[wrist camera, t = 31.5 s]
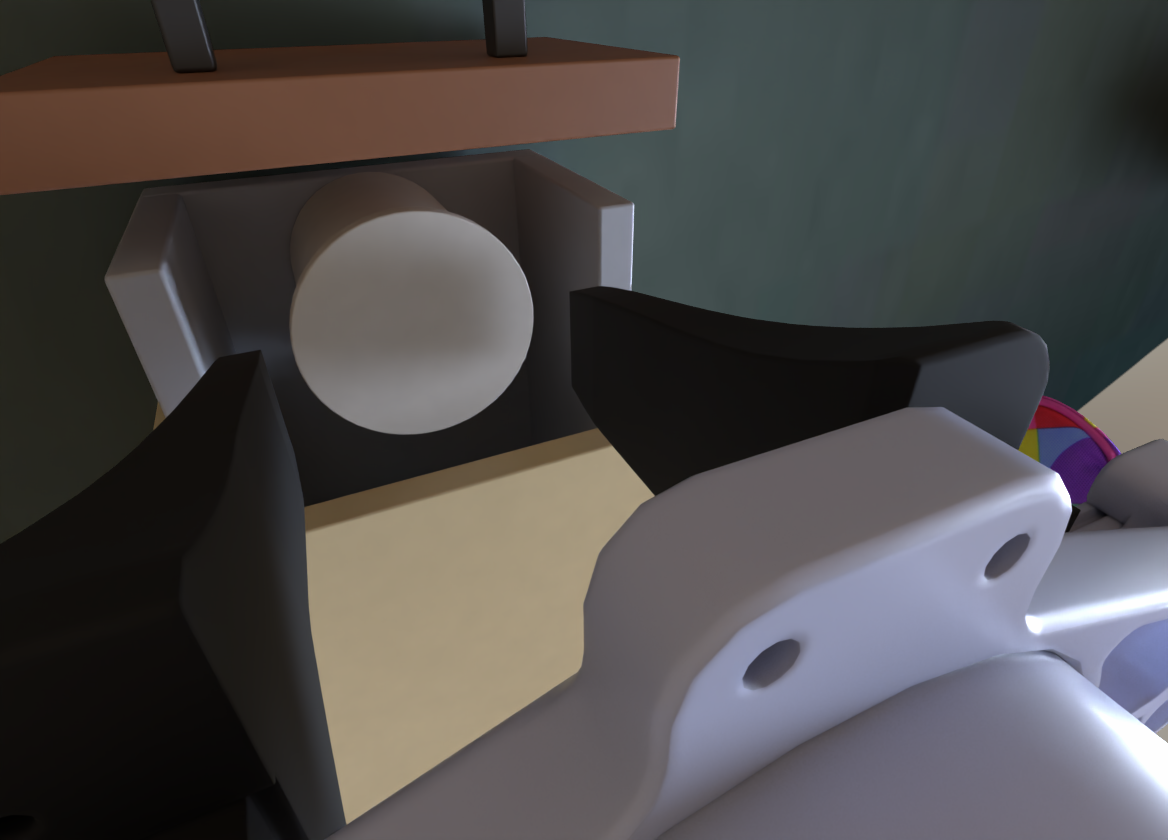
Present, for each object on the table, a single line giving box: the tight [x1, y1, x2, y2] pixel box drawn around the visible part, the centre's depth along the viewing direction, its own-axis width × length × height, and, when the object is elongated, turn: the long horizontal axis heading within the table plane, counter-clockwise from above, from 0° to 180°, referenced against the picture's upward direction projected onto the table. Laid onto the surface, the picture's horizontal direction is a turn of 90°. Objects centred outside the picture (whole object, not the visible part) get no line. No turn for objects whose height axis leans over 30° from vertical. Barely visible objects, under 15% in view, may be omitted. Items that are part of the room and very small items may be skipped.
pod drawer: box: [0, 0, 680, 507], centre depth 14 cm, size 17×10×6 cm, turn 179°
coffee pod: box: [289, 172, 533, 435], centre depth 14 cm, size 5×5×5 cm
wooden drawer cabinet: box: [153, 402, 655, 825], centre depth 20 cm, size 14×12×8 cm
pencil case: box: [1018, 396, 1121, 506], centre depth 38 cm, size 22×9×9 cm, turn 41°
